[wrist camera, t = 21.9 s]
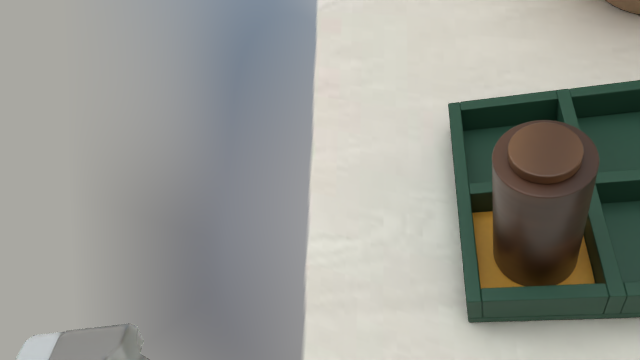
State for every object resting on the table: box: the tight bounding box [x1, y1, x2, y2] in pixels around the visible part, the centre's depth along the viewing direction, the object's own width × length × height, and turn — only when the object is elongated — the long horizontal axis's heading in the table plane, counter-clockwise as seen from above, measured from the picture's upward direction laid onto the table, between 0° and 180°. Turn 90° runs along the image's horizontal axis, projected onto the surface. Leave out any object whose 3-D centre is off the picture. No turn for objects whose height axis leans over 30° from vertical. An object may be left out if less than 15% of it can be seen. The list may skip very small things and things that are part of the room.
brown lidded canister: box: [492, 120, 599, 286], centre depth 29 cm, size 5×5×10 cm
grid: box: [448, 80, 640, 322], centre depth 33 cm, size 15×15×3 cm
